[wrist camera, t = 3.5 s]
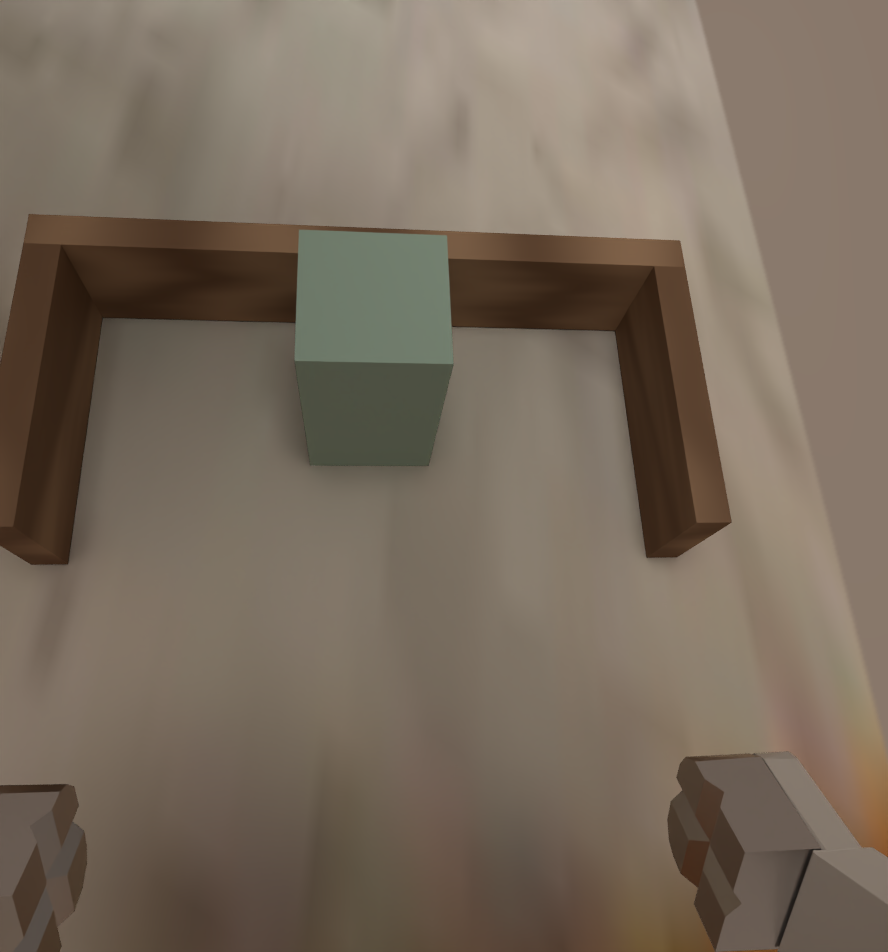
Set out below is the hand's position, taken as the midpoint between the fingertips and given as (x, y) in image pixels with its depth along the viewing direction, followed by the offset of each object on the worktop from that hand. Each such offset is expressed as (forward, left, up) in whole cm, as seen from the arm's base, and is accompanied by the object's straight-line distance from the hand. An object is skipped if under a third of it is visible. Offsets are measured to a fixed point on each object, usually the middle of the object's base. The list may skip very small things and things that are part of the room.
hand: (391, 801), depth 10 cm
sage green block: (0, +13, -16) cm, 21 cm away
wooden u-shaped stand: (0, +13, -16) cm, 21 cm away
